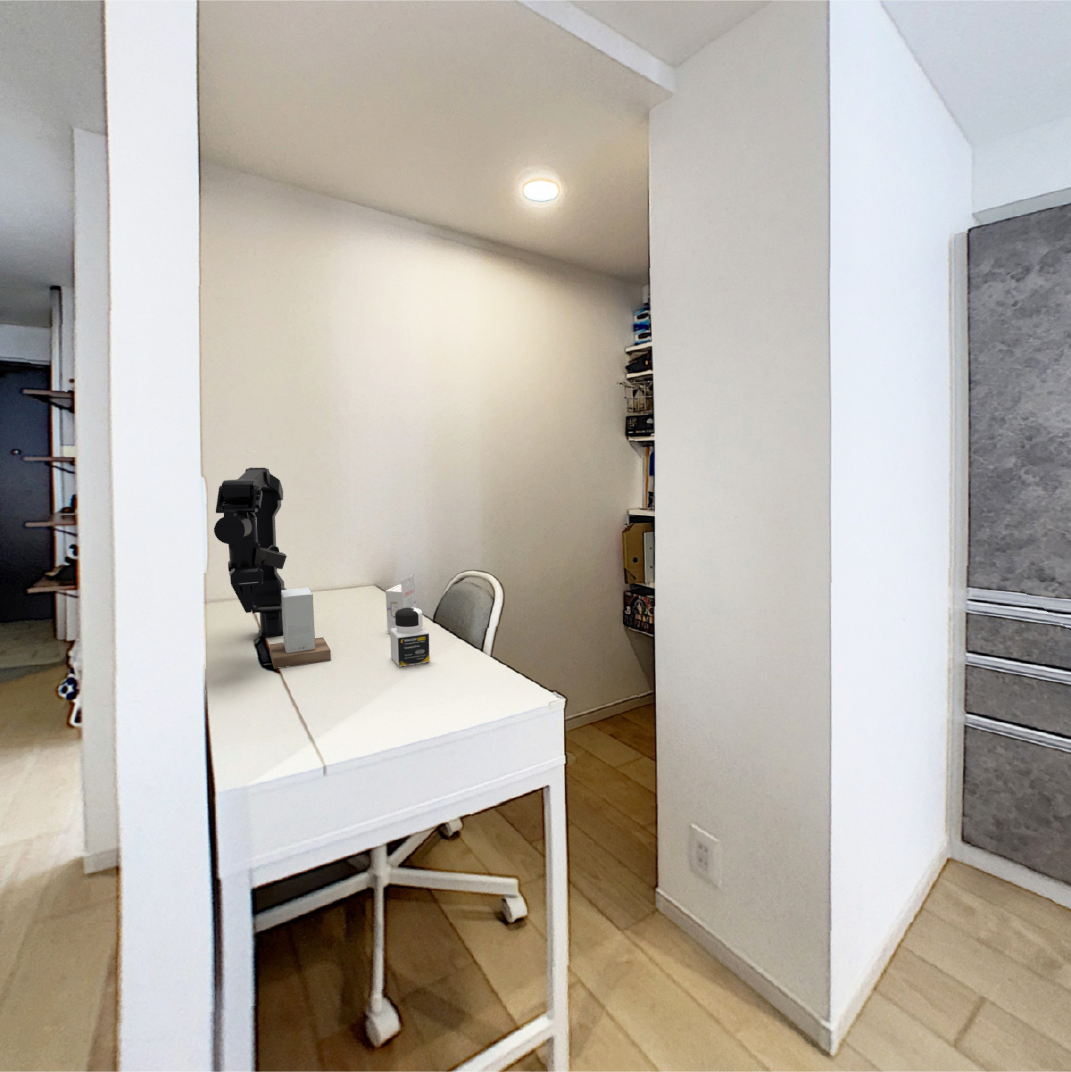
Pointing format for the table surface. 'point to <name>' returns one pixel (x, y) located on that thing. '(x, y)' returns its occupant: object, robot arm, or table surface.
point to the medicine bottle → (409, 638)
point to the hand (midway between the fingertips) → (247, 607)
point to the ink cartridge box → (399, 599)
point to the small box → (298, 620)
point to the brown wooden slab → (299, 654)
